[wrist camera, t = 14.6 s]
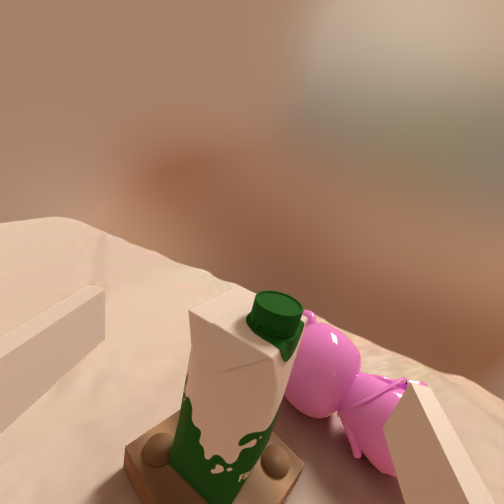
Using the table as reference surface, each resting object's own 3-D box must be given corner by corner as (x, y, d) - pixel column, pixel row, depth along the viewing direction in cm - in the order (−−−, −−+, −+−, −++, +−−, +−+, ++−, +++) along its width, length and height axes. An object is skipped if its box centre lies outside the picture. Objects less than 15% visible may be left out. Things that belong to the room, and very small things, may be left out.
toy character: (424, 415, 43) (300, 317, 53) (481, 399, 33) (314, 282, 43) (383, 513, 35) (248, 378, 46) (441, 533, 25) (250, 352, 35)
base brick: (218, 399, 39) (224, 378, 38) (295, 484, 31) (306, 462, 30) (123, 470, 29) (125, 444, 27) (201, 624, 21) (210, 601, 19)
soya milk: (224, 537, 22) (283, 340, 16) (153, 464, 26) (179, 284, 20) (271, 454, 30) (322, 297, 24) (210, 406, 34) (241, 263, 28)
